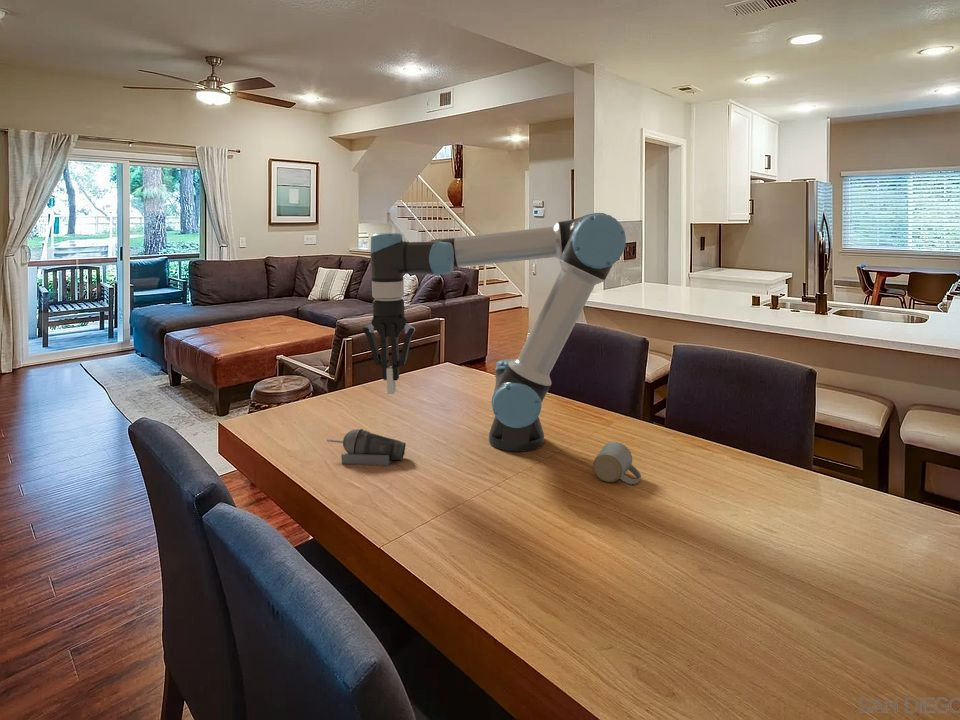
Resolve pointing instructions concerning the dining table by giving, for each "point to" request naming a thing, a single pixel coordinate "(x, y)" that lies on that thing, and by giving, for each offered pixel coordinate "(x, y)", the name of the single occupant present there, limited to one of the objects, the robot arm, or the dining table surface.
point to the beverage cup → (372, 444)
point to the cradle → (365, 459)
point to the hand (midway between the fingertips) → (391, 392)
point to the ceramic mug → (615, 464)
